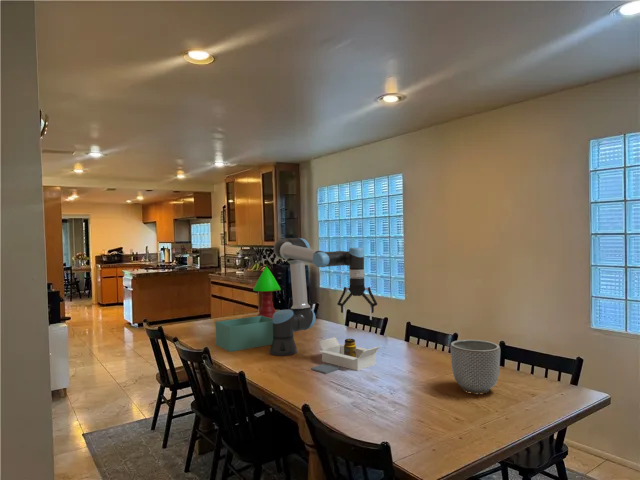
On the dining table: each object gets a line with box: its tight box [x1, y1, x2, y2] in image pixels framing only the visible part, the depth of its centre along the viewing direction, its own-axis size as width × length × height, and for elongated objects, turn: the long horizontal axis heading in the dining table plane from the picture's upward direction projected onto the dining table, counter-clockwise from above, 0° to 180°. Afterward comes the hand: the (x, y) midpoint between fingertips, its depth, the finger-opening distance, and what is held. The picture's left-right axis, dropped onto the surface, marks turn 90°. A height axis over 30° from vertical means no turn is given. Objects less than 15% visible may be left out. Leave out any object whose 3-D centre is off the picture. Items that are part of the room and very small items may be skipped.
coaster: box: [310, 363, 341, 375], centre depth 218 cm, size 10×10×1 cm
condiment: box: [344, 338, 357, 357], centre depth 229 cm, size 7×8×12 cm
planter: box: [449, 339, 501, 395], centre depth 185 cm, size 20×20×19 cm
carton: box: [317, 336, 381, 372], centre depth 229 cm, size 31×20×10 cm, turn 45°
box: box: [215, 315, 273, 353], centre depth 272 cm, size 21×32×14 cm, turn 125°
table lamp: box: [252, 266, 282, 319], centre depth 314 cm, size 20×20×45 cm
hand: (357, 319), depth 227 cm, fingers open, 13 cm apart
